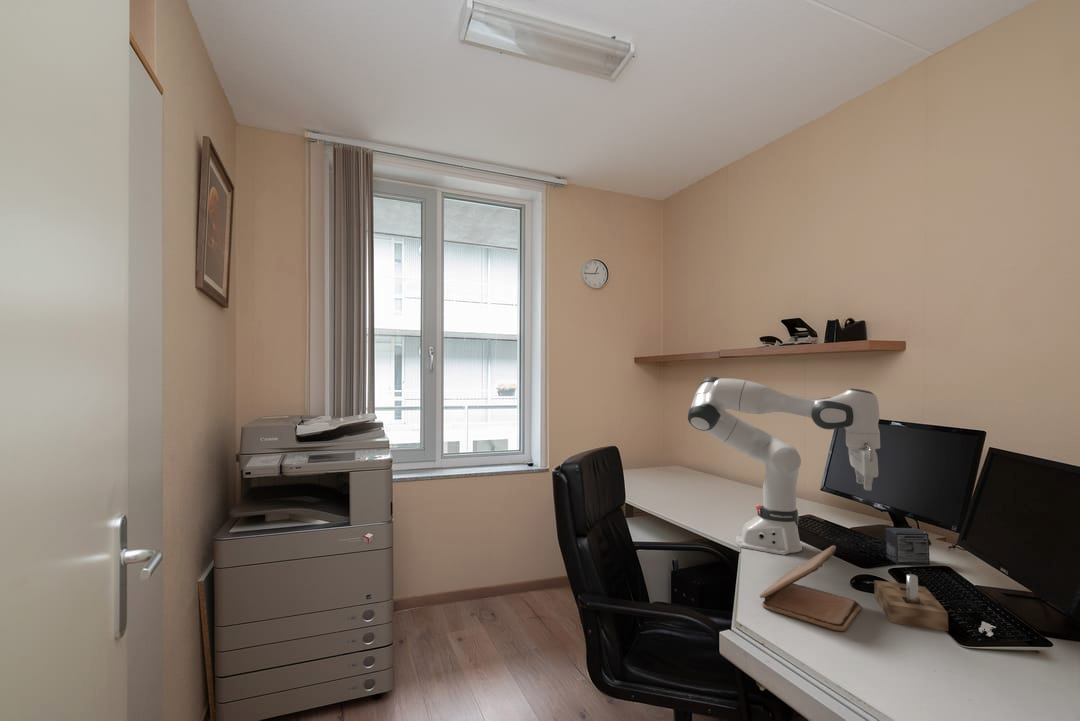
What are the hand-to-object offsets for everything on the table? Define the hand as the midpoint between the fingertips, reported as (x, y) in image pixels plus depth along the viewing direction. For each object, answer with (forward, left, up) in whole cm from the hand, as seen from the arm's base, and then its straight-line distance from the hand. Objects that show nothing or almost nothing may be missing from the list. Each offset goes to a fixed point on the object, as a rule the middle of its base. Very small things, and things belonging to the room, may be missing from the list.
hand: (863, 486), depth 150 cm
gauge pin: (+6, -21, -29) cm, 37 cm away
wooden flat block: (+6, -18, -29) cm, 35 cm away
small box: (+17, +25, -29) cm, 42 cm away
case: (-18, -24, -30) cm, 42 cm away
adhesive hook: (+21, -23, -30) cm, 43 cm away
